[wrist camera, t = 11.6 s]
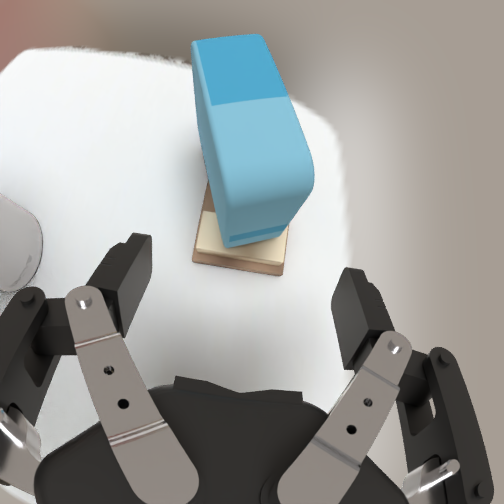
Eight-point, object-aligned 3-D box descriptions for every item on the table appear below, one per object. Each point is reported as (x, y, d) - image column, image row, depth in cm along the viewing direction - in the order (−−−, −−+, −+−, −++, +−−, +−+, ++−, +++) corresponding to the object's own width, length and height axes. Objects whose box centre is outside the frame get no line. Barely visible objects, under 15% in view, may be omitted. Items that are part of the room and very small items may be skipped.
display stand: (193, 262, 28) (189, 255, 25) (218, 139, 31) (219, 121, 28) (280, 276, 29) (287, 271, 25) (294, 152, 31) (302, 136, 28)
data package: (278, 240, 26) (322, 181, 14) (224, 252, 25) (227, 198, 14) (244, 121, 28) (258, 24, 16) (197, 129, 27) (189, 31, 16)
